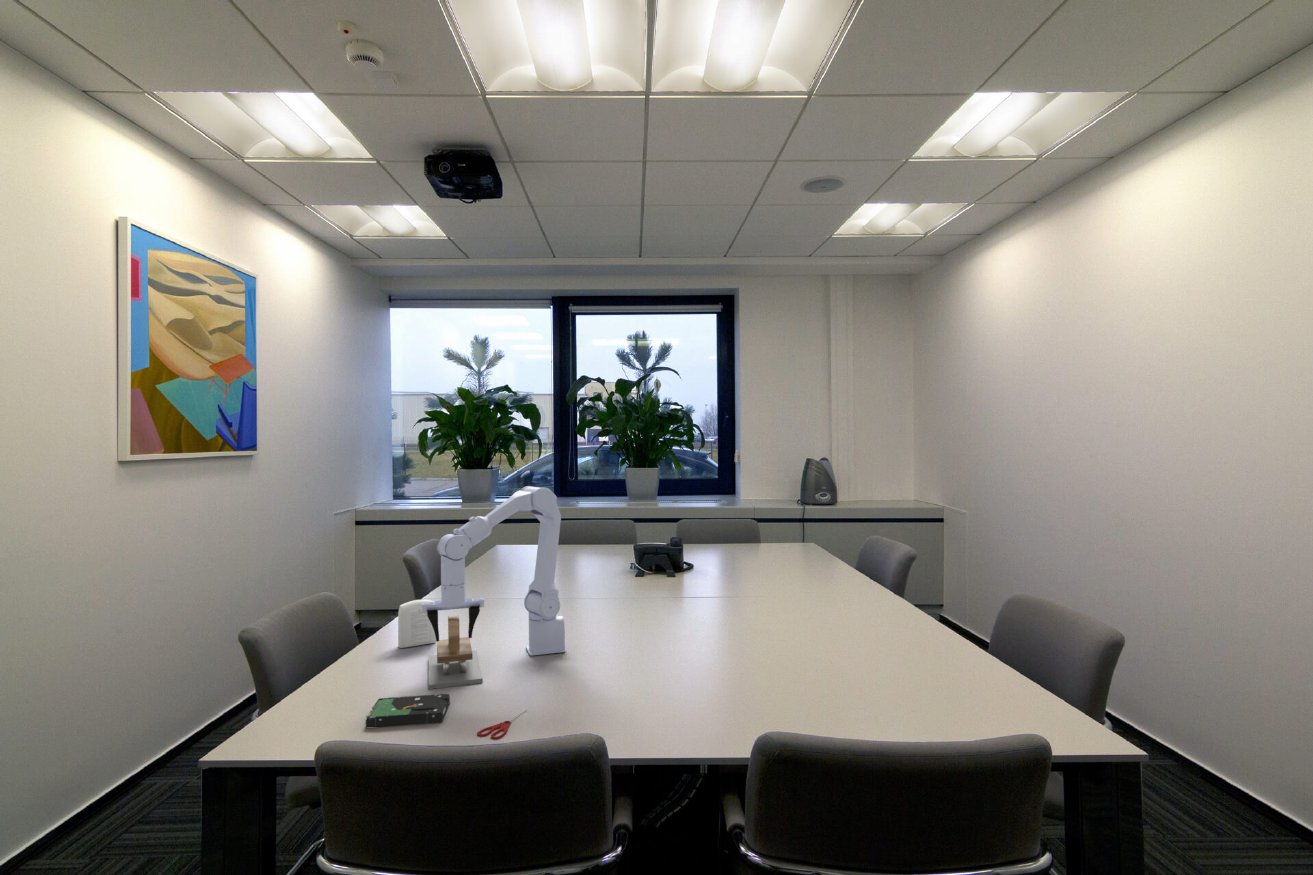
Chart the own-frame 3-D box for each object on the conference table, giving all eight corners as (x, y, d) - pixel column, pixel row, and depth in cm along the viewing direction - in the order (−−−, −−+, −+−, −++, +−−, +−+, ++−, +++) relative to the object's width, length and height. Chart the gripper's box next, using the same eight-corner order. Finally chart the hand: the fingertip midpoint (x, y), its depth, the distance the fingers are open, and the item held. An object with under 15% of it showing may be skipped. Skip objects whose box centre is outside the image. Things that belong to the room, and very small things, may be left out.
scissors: (474, 737, 129) (474, 732, 129) (516, 710, 142) (516, 706, 142) (498, 742, 127) (498, 737, 127) (538, 714, 140) (538, 709, 140)
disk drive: (450, 705, 146) (378, 710, 143) (450, 692, 146) (378, 697, 143) (442, 725, 135) (364, 730, 133) (442, 711, 135) (364, 716, 133)
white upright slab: (434, 639, 192) (433, 596, 192) (438, 643, 189) (437, 599, 189) (396, 645, 187) (396, 601, 187) (400, 649, 183) (399, 604, 183)
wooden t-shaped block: (472, 659, 160) (472, 623, 160) (437, 663, 158) (436, 627, 158) (469, 642, 174) (468, 609, 174) (436, 646, 171) (436, 612, 171)
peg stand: (476, 654, 178) (476, 637, 178) (482, 682, 157) (482, 663, 157) (428, 659, 174) (428, 642, 174) (428, 689, 154) (428, 669, 154)
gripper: (482, 577, 172) (483, 631, 172) (422, 582, 167) (423, 637, 167) (484, 583, 165) (485, 638, 165) (422, 588, 161) (422, 645, 161)
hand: (453, 638), depth 166 cm, fingers open, 7 cm apart
